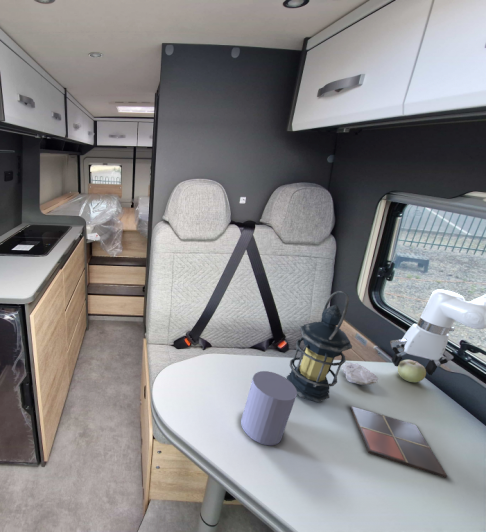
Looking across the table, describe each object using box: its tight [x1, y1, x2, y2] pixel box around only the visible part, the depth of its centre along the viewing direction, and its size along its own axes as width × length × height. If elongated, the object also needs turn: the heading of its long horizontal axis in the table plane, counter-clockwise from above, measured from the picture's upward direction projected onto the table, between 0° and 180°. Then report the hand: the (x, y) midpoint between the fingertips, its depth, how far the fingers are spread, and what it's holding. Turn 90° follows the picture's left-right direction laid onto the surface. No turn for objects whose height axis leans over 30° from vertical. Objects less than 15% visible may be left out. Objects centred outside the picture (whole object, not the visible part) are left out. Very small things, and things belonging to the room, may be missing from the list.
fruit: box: [397, 359, 427, 383], centre depth 107 cm, size 8×7×8 cm
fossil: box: [341, 362, 379, 386], centre depth 105 cm, size 9×6×10 cm
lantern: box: [286, 290, 353, 403], centre depth 92 cm, size 14×13×35 cm
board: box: [350, 405, 448, 479], centre depth 83 cm, size 16×16×1 cm
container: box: [240, 370, 298, 446], centre depth 80 cm, size 10×10×15 cm
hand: (411, 368), depth 107 cm, fingers open, 9 cm apart
